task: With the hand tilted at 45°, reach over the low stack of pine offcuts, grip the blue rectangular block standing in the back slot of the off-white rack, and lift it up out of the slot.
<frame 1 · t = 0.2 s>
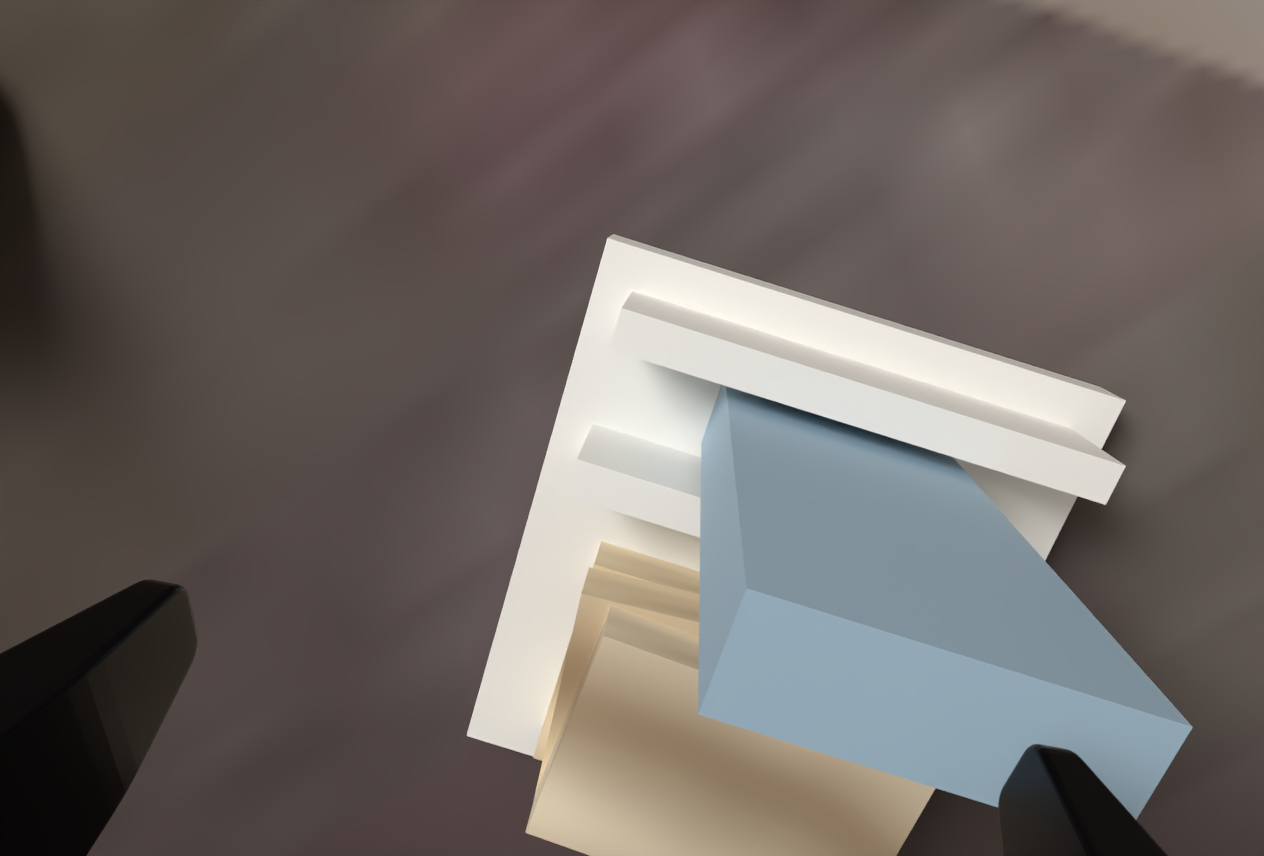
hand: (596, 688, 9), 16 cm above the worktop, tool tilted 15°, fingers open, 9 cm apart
offcut stack: (724, 684, 25), point 1 cm above the worktop, touching rack
blue rectangular block: (818, 442, 22), point 1 cm above the worktop, touching rack
rack: (760, 561, 25), on the worktop
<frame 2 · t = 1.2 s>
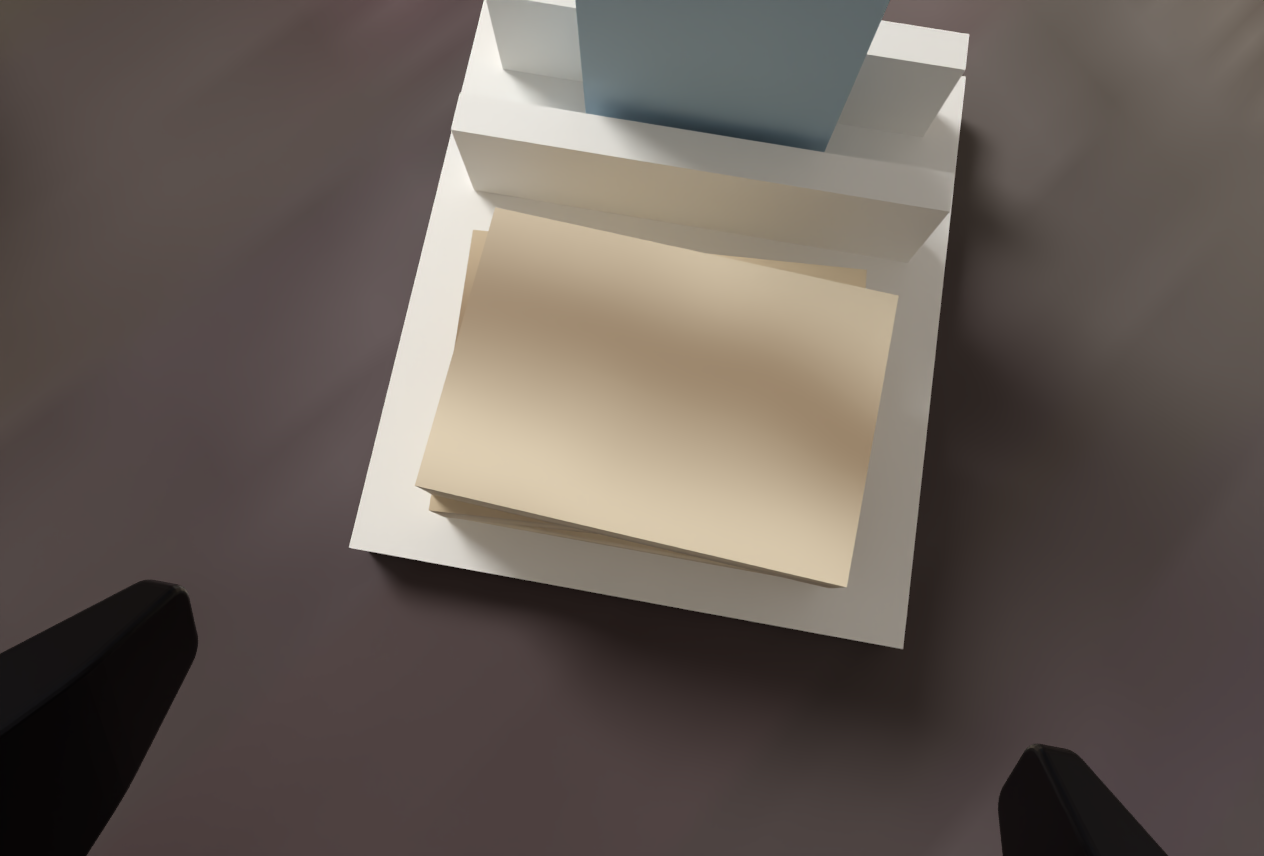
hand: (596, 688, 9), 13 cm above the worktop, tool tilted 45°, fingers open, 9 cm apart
offcut stack: (653, 423, 21), point 1 cm above the worktop, touching rack
blue rectangular block: (702, 147, 23), point 1 cm above the worktop, touching rack
rack: (673, 316, 24), on the worktop
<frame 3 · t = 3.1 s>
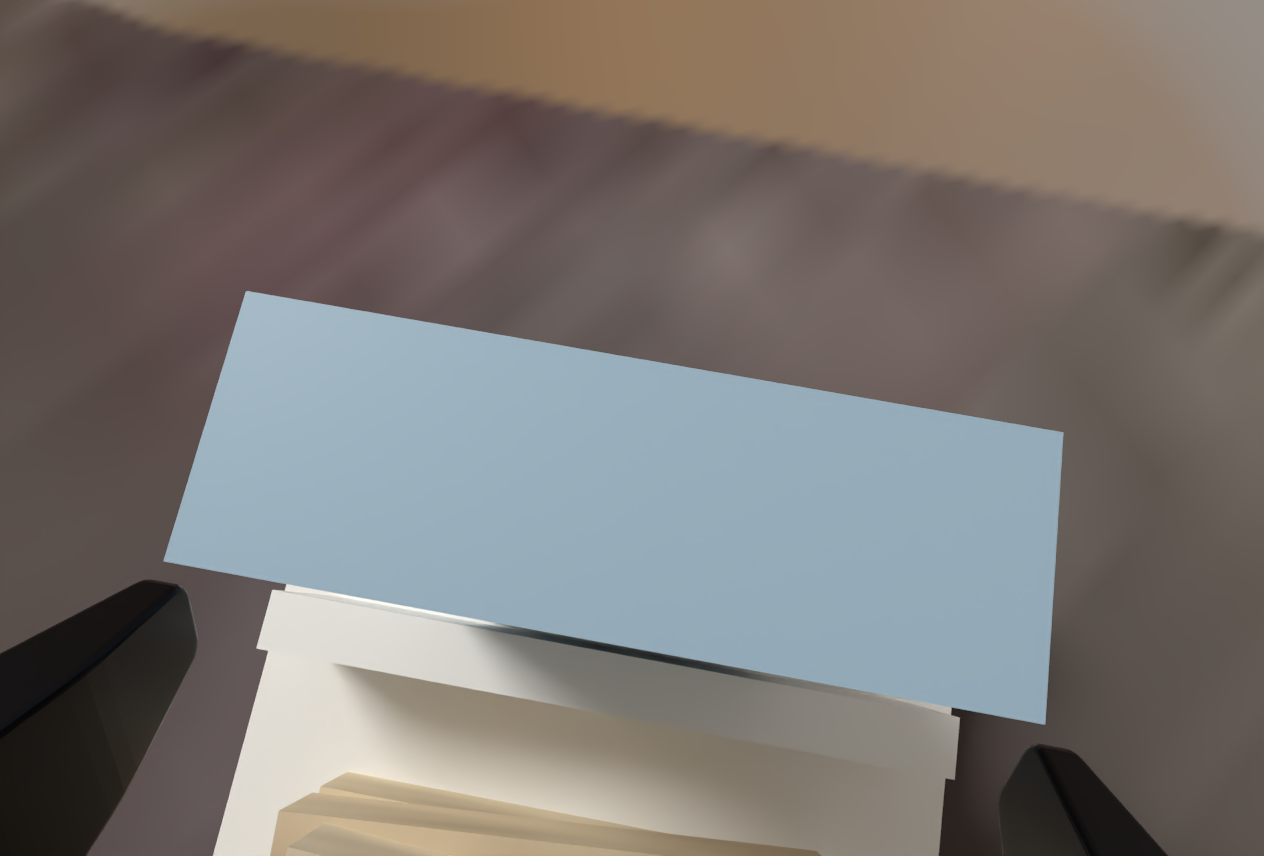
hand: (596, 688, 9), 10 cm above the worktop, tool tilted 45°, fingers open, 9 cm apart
blue rectangular block: (625, 579, 17), point 1 cm above the worktop, touching rack
rack: (588, 791, 18), on the worktop
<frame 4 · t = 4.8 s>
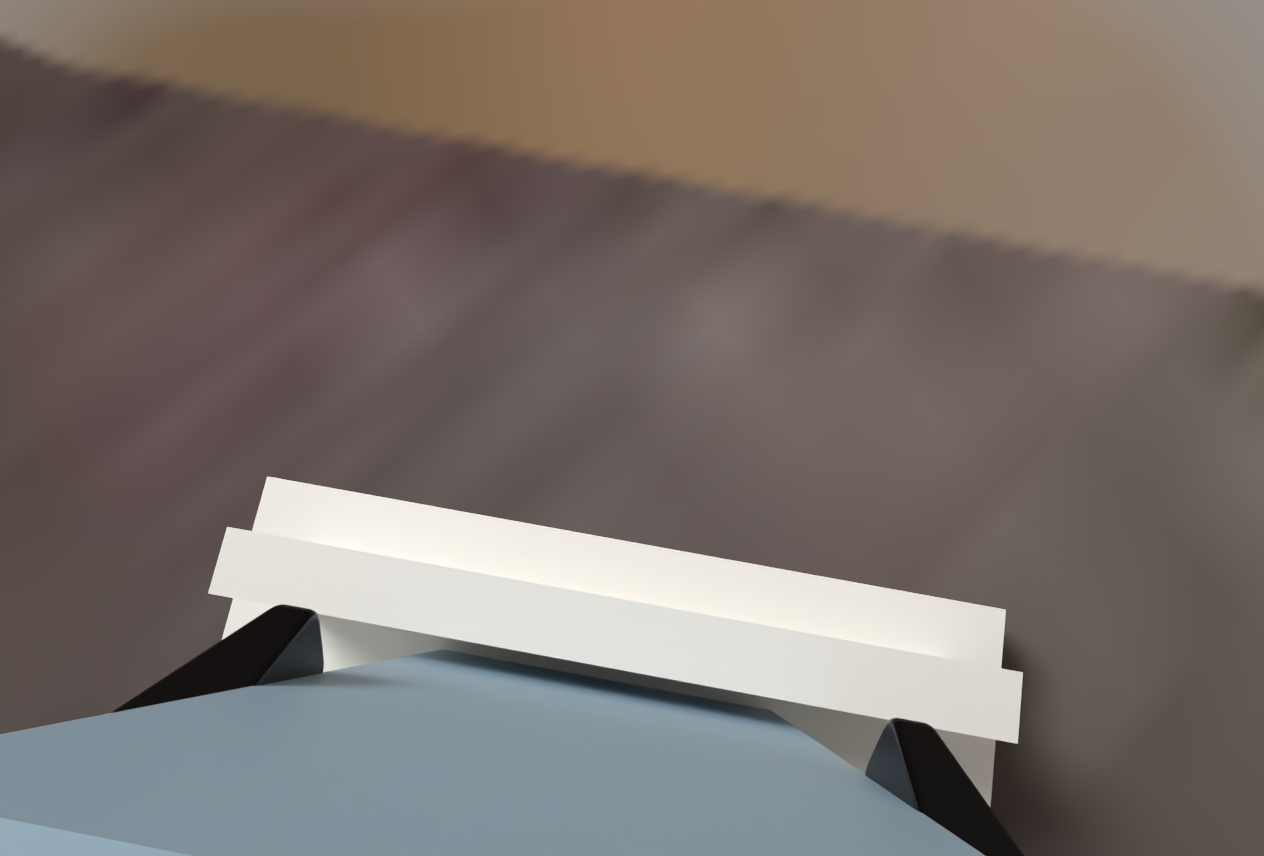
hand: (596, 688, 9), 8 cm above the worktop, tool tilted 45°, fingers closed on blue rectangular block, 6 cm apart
blue rectangular block: (595, 737, 15), point 2 cm above the worktop, touching gripper, rack
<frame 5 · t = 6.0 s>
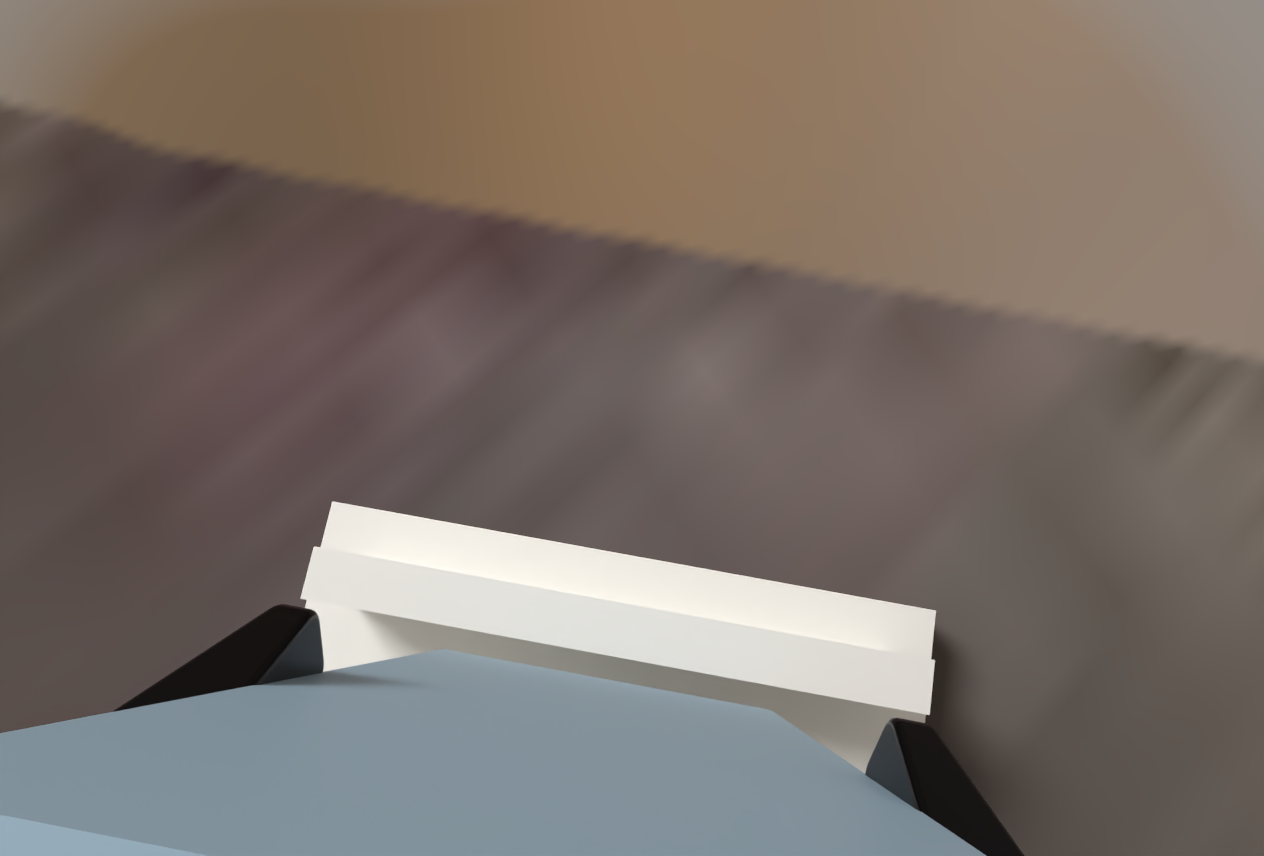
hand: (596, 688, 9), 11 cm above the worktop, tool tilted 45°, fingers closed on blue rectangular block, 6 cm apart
blue rectangular block: (595, 736, 15), point 5 cm above the worktop, touching gripper
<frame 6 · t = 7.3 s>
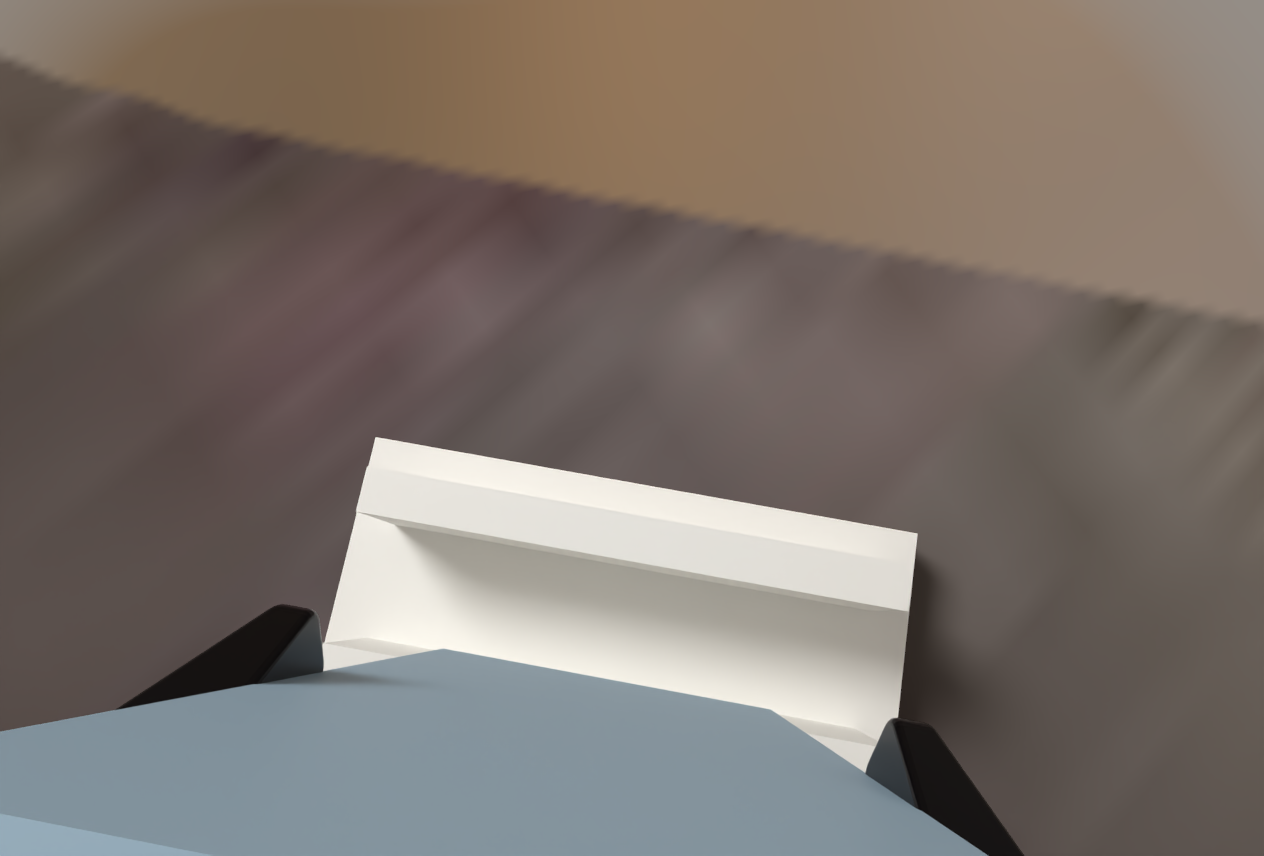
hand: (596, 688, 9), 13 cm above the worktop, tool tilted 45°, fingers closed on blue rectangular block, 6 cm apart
blue rectangular block: (595, 736, 15), point 7 cm above the worktop, touching gripper
rack: (587, 802, 21), on the worktop
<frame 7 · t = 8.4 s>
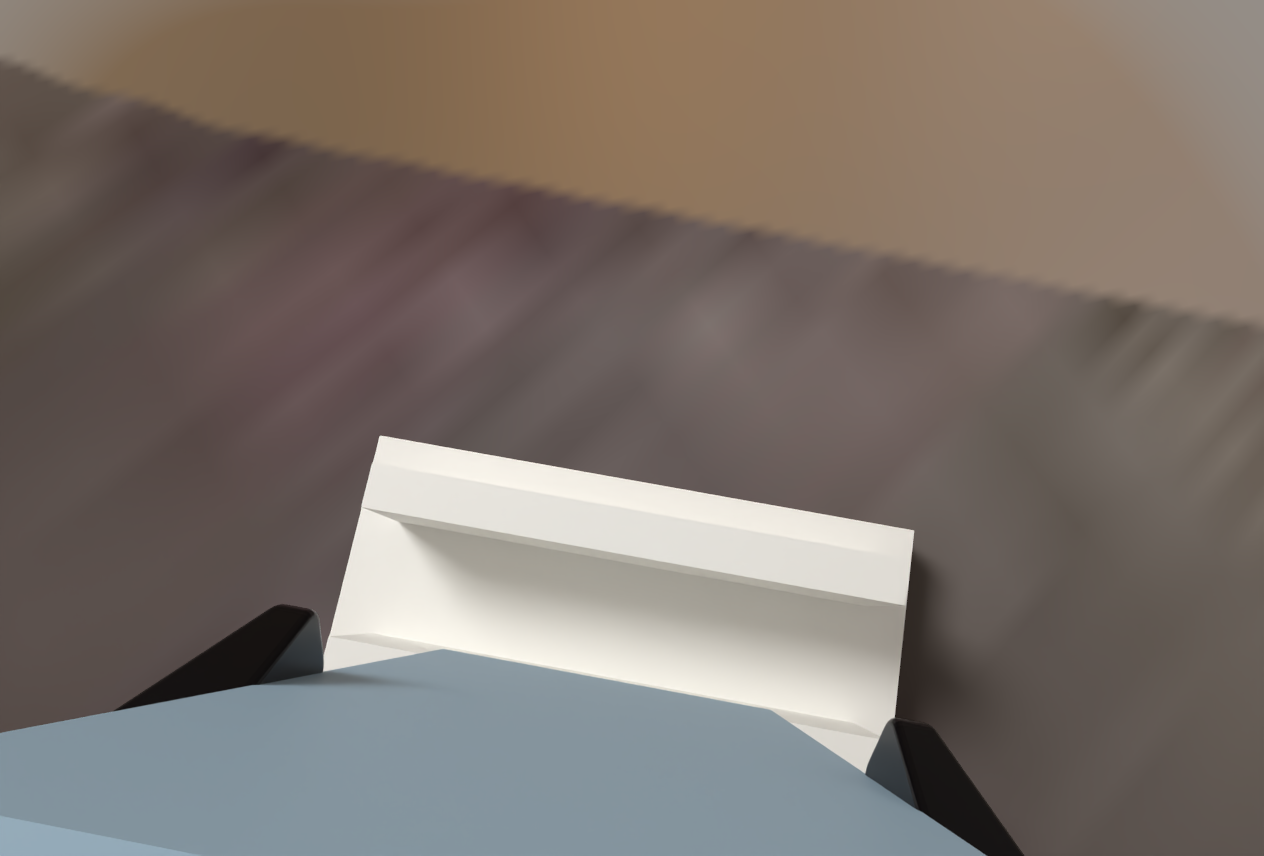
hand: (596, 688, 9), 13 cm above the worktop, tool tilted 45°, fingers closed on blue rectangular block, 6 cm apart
blue rectangular block: (595, 736, 15), point 7 cm above the worktop, touching gripper
rack: (588, 797, 21), on the worktop
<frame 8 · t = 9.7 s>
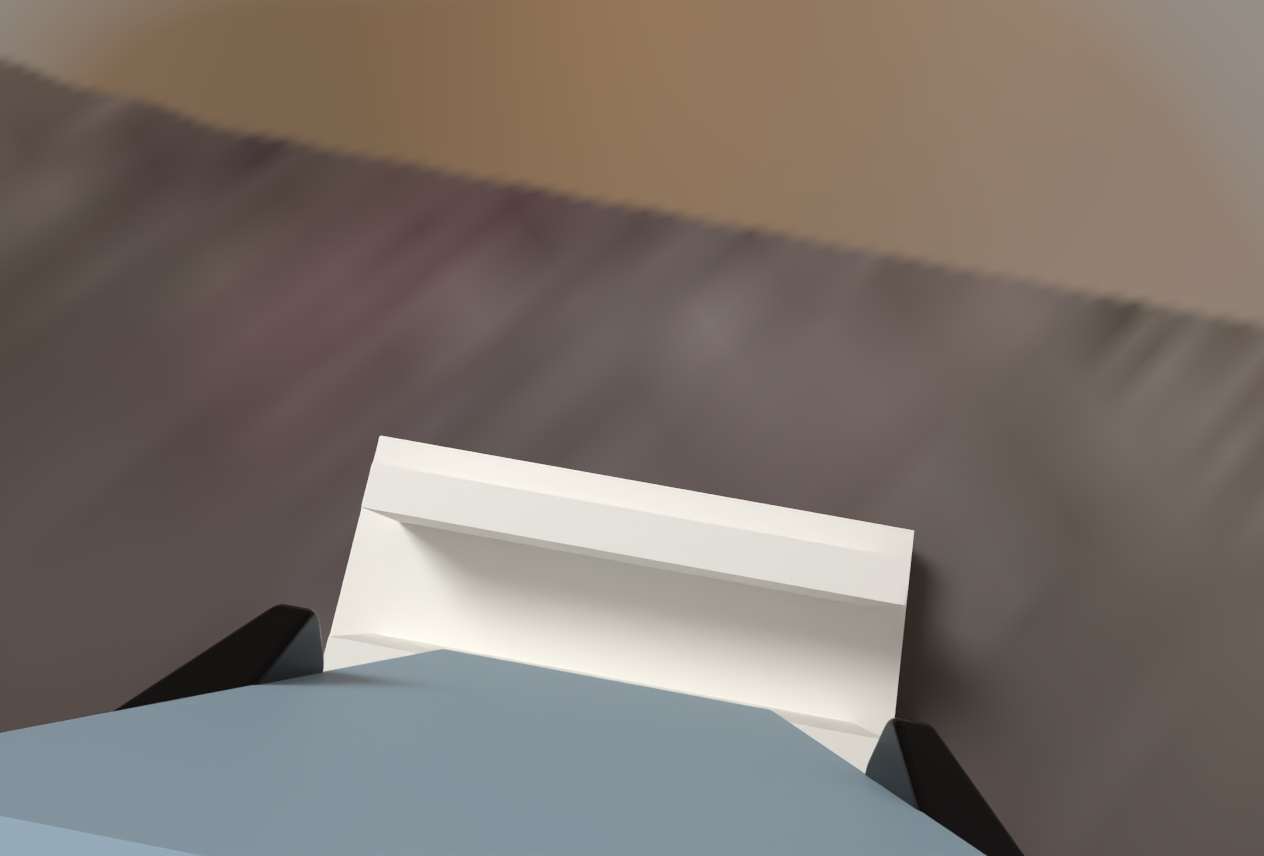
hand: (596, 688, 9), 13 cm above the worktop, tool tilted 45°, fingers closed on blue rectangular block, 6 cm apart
blue rectangular block: (595, 736, 15), point 7 cm above the worktop, touching gripper
rack: (588, 797, 21), on the worktop
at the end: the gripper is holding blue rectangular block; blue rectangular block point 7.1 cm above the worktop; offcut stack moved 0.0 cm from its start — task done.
